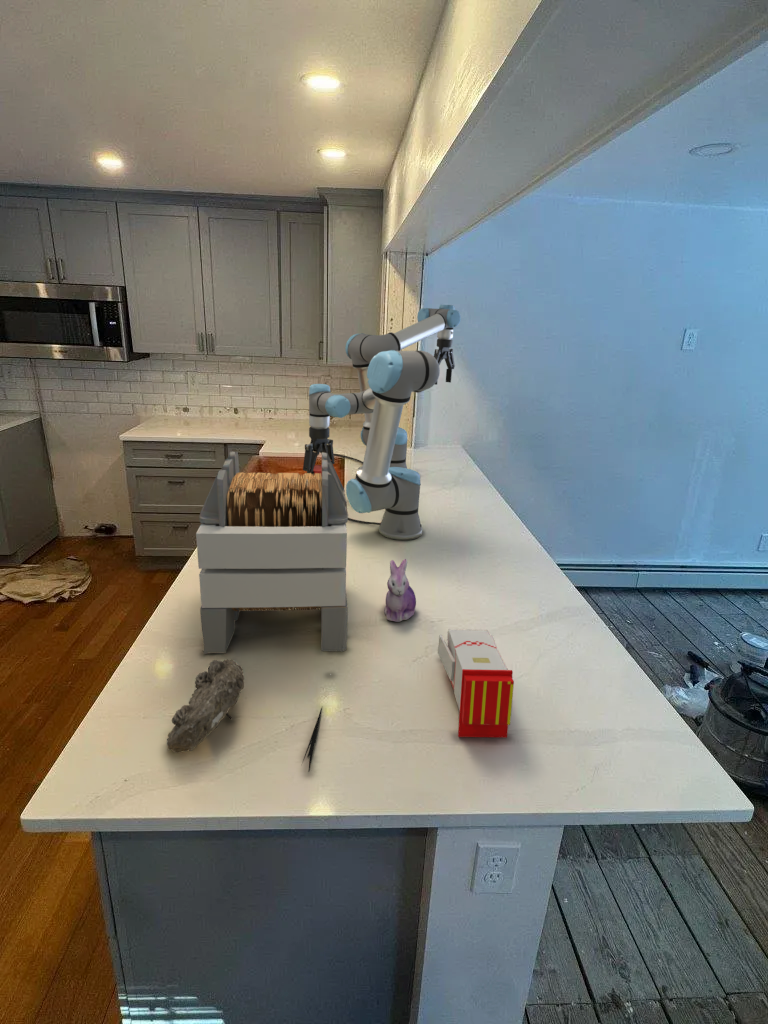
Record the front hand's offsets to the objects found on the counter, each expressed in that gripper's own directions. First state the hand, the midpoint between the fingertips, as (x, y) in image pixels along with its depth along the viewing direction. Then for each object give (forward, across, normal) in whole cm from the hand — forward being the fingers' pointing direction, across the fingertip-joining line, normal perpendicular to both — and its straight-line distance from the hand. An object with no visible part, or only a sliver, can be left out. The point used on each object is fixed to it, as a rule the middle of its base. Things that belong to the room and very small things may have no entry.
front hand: (318, 485), depth 217 cm
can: (+6, 0, 0) cm, 6 cm away
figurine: (+9, +48, +68) cm, 84 cm away
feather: (+9, +91, +78) cm, 120 cm away
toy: (+9, +66, +97) cm, 118 cm away
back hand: (-31, -94, -1) cm, 99 cm away
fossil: (+9, +103, +61) cm, 120 cm away
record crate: (+9, +68, +45) cm, 82 cm away
